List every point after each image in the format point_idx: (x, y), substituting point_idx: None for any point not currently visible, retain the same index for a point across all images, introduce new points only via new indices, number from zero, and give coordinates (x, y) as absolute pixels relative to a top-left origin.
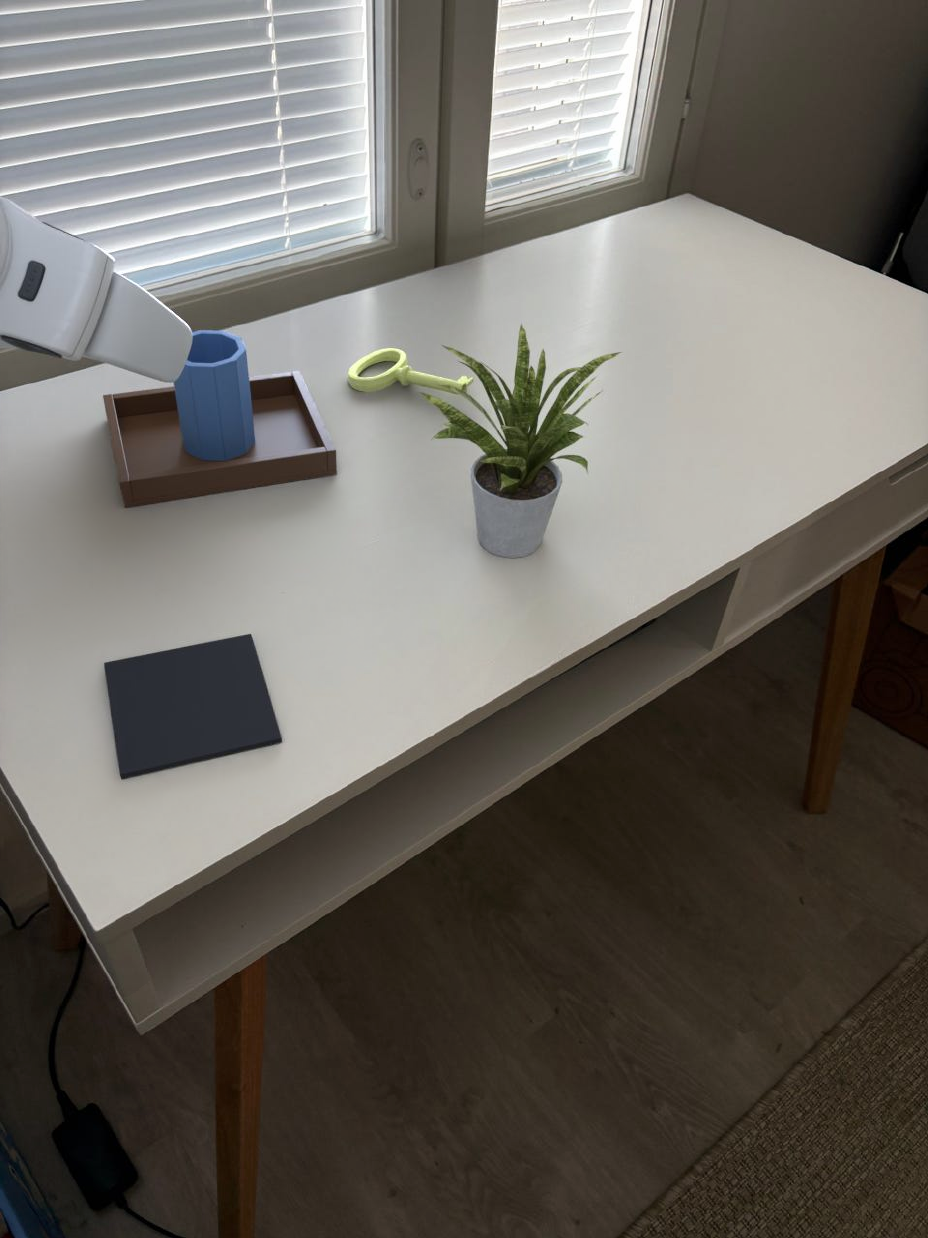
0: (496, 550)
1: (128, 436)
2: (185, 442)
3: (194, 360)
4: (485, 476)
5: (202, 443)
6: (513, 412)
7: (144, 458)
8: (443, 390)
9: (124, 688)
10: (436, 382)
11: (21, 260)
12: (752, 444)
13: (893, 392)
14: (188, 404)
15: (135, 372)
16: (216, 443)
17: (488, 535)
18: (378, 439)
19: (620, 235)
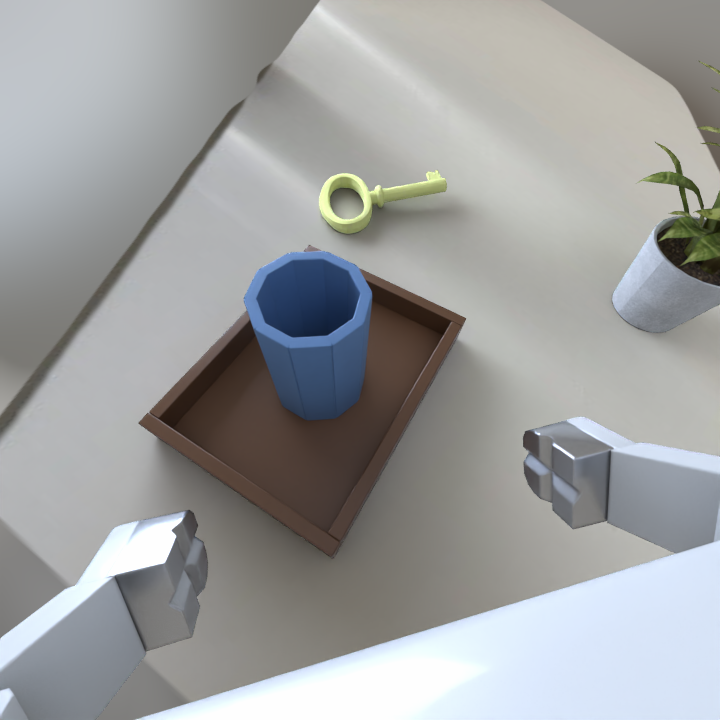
0: (669, 328)
1: (217, 448)
2: (306, 414)
3: (269, 316)
4: (682, 269)
5: (338, 406)
6: None
7: (273, 466)
8: (425, 194)
9: None
10: (418, 190)
11: None
12: (624, 131)
13: (618, 60)
14: (321, 384)
15: None
16: (352, 395)
17: (673, 321)
18: (433, 274)
19: (339, 14)
